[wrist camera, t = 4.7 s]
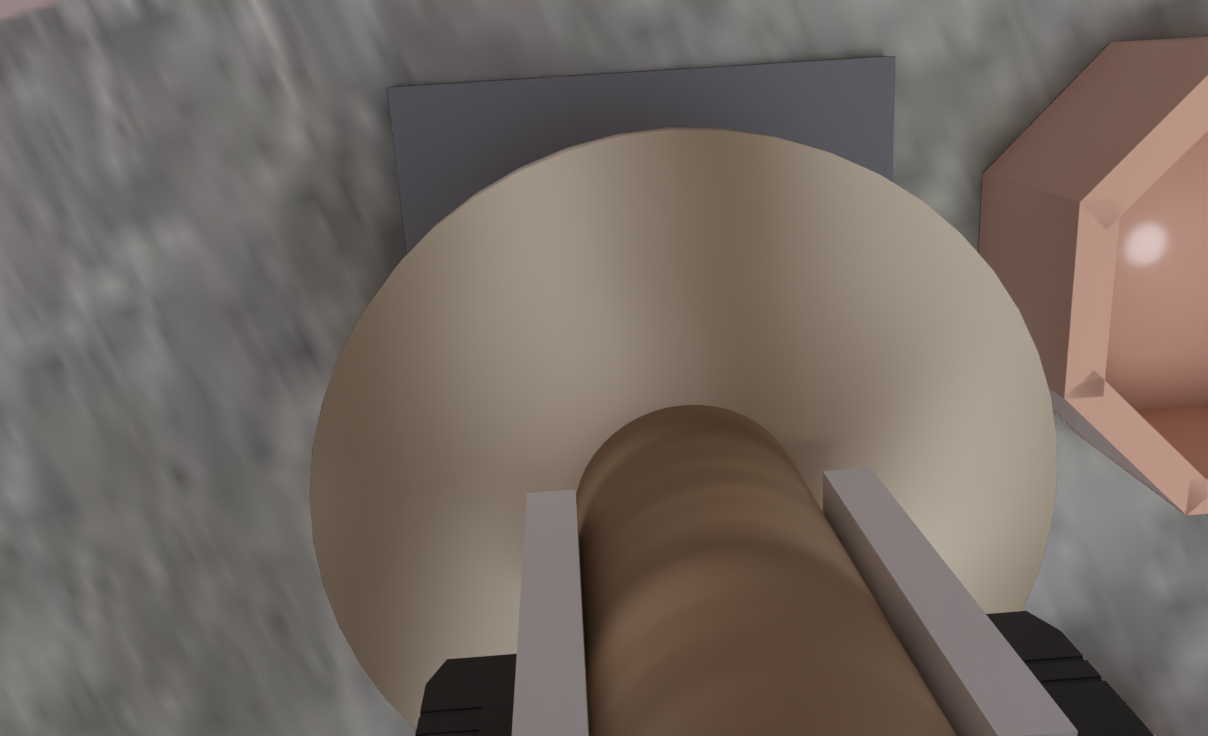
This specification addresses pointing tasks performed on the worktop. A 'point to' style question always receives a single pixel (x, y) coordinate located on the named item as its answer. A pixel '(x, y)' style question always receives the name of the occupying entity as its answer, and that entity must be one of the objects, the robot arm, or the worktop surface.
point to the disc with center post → (681, 432)
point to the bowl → (1117, 257)
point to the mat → (626, 120)
